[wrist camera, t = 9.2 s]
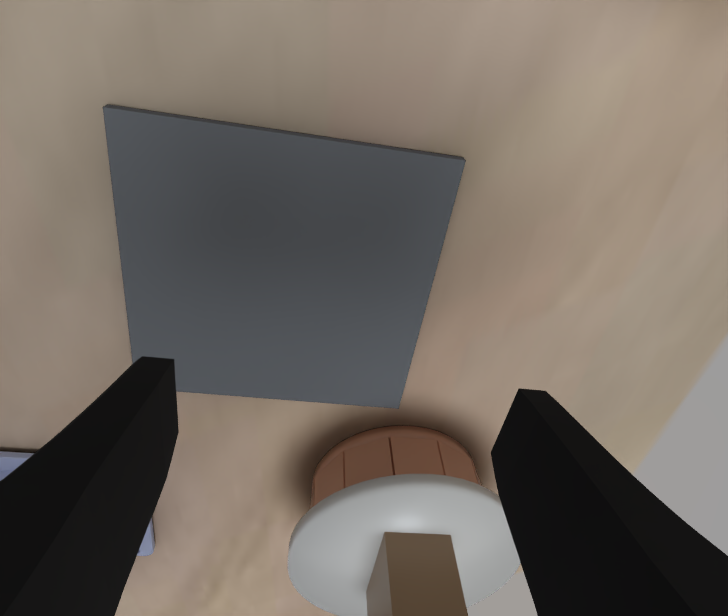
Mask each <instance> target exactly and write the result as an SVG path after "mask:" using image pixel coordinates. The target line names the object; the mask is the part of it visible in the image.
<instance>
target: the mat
mask: <svg viewBox="0 0 728 616" xmlns="http://www.w3.org/2000/svg"><path fill="white" fill-rule="evenodd" d="M103 112H104V121H105V129H106V138H107V147H108V155H109V164H110V172H111V181H112V190H113V198H114V207H115V215H116V224H117V233H118V241H119V250H120V258H121V267H122V276H123V284H124V293H125V301H126V310H127V319H128V327H129V336H130V344H131V353H132V362H133V363H134V362H135V361H136V360H138V359H139V358H140V357H142V356H146V357H157V358H169V359H174V363H175V381H176V391H178V392H191V393H204V394H217V395H230V396H243V397H255V398H268V399H281V400H294V401H307V402H320V403H332V404H345V405H358V406H371V407H384V408H397V409H399V405H400V401H401V398H402V394H403V390H404V387H405V383H406V379H407V375H408V372H409V368H410V364H411V361H412V357H413V353H414V350H415V346H416V342H417V339H418V335H419V331H420V327H421V324H422V320H423V316H424V313H425V309H426V305H427V302H428V298H429V294H430V291H431V287H432V283H433V279H434V276H435V272H436V268H437V265H438V261H439V257H440V254H441V250H442V246H443V243H444V239H445V235H446V231H447V228H448V224H449V220H450V217H451V213H452V209H453V206H454V202H455V198H456V194H457V191H458V187H459V183H460V180H461V176H462V172H463V169H464V165H465V161H466V160H465V159H464V158H463V157H458V156H452V155H445V154H438V153H432V152H425V151H418V150H411V149H405V148H398V147H391V146H384V145H378V144H371V143H364V142H357V141H351V140H344V139H337V138H331V137H324V136H317V135H310V134H304V133H297V132H290V131H283V130H277V129H270V128H263V127H256V126H250V125H243V124H236V123H230V122H223V121H216V120H209V119H203V118H196V117H189V116H182V115H176V114H169V113H162V112H155V111H149V110H142V109H135V108H129V107H122V106H115V105H108V104H107V105H106V106H104V107H103Z"/></svg>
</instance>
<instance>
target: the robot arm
mask: <svg viewBox="0 0 728 616" xmlns="http://www.w3.org/2000/svg"><path fill="white" fill-rule="evenodd" d="M177 435H178V415H177V398H176V381H175V363H174V359H169V358H157V357H146V356H142V357H140V358H139V359H138V360H136V361H135V362H134V363H133V364H132V365H131V366H130V367H129V368H128V369H127V370H126V371H125V372H124V373H123V374H122V375H121V376H120V377H119V378H118V379H117V380H116V381H115V382H114V383H113V384H112V385H111V386H110V387H109V388H108V389H107V390H106V391H104V392H103V393H102V394H101V395H100V396H99V397H98V398H97V399H96V400H95V401H94V402H93V403H92V404H91V405H90V406H88V407H87V408H86V409H85V410H84V411H83V412H82V413H81V414H80V415H78V416H77V417H76V418H75V419H74V420H73V421H72V422H71V423H70V424H68V425H67V426H66V427H65V428H64V429H63V430H62V431H61V432H60V433H58V434H57V435H56V436H55V437H54V438H53V439H51V440H50V441H49V442H48V443H47V444H45V445H44V446H43V447H42V448H41V449H39V450H38V451H37V452H36V453H20V452H3V451H0V616H114V615H115V612H116V610H117V607H118V604H119V601H120V598H121V595H122V592H123V590H124V587H125V584H126V582H127V579H128V577H129V574H130V572H131V569H132V566H133V564H134V561H135V559H136V556H148V555H151V554H152V553H153V551H154V548H155V542H154V533H153V524H152V515H153V512H154V510H155V507H156V505H157V502H158V499H159V497H160V494H161V492H162V489H163V486H164V484H165V481H166V478H167V474H168V470H169V467H170V463H171V459H172V455H173V451H174V447H175V443H176V439H177ZM491 456H492V462H493V468H494V473H495V479H496V484H497V488H498V493H499V498H500V501H501V504H502V507H503V511H504V514H505V517H506V520H507V523H508V526H509V529H510V532H511V535H512V538H513V541H514V544H515V547H516V550H517V553H518V556H519V559H520V562H521V565H522V568H523V571H524V574H525V577H526V580H527V583H528V586H529V589H530V592H531V595H532V598H533V601H534V604H535V608H536V611H537V615H538V616H728V556H727V555H726V554H725V553H723V552H722V551H721V550H720V549H718V548H717V547H716V546H714V545H713V544H712V543H711V542H709V541H708V540H707V539H706V538H704V537H703V536H702V535H700V534H699V533H698V532H697V531H695V530H694V529H693V528H692V527H691V526H690V525H688V524H687V523H686V522H685V521H683V520H682V519H681V518H680V517H679V516H678V515H676V514H675V513H674V512H673V511H672V510H671V509H670V508H668V507H667V506H666V505H665V504H664V503H663V502H662V501H661V500H659V499H658V498H657V497H656V496H655V495H654V494H653V493H651V492H650V491H649V490H648V489H647V488H646V487H645V486H644V485H643V484H642V483H641V482H639V481H638V480H637V479H636V478H635V477H634V476H633V475H632V474H631V473H630V472H629V471H628V470H627V469H626V468H624V467H623V466H622V465H621V464H620V463H619V462H618V461H617V460H616V459H615V458H614V457H613V456H612V455H611V454H610V453H609V452H608V451H607V450H606V449H605V448H604V447H603V446H602V445H601V444H600V443H599V442H598V441H597V440H596V439H595V438H594V437H593V436H592V435H591V434H590V433H589V432H588V431H587V430H586V429H585V428H584V427H583V426H581V425H580V424H579V423H578V422H577V421H576V420H575V419H574V418H573V417H572V416H571V415H570V414H569V413H568V412H567V411H566V410H565V409H564V408H563V407H562V406H561V405H560V404H559V403H558V402H557V401H556V400H555V399H554V398H553V397H552V396H550V395H549V394H548V393H547V392H546V391H541V390H529V389H518V392H517V394H516V396H515V398H514V401H513V403H512V405H511V408H510V410H509V412H508V415H507V417H506V419H505V421H504V424H503V426H502V428H501V431H500V433H499V435H498V437H497V440H496V442H495V444H494V447H493V449H492V451H491Z"/></svg>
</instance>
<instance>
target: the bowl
mask: <svg viewBox="0 0 728 616" xmlns="http://www.w3.org/2000/svg"><path fill="white" fill-rule="evenodd" d="M401 474H436V475H446V476H451V477H456V478H461V479H464V480H467V481H471V482H474V483H476V484H479V485H481V482H480V480H479V477H478V475H477V472H476V469H475V465H474V462H473V459H472V458H471V456H470V454H469V452H468V451H467V450H466V449H465V448H464V447H463V446H462V445H461V444H460V443H459V442H458V441H456V440H455V439H453V438H452V437H450V436H448V435H446V434H443V433H441V432H438V431H435V430H432V429H428V428H423V427H416V426H388V427H381V428H376V429H372V430H368V431H364V432H362V433H359V434H356V435H354V436H352V437H349V438H347V439H345V440H344V441H342V442H340V443H339V444H337V445H336V446H335V447H333V448H332V449H331V450H330V451H328V452H327V453H326V455H325V456H324V457H323V458H322V459H321V461H320V462H319V463H318V465H317V467H316V469H315V471H314V475H313V480H312V495H311V501H310V509H311V508H312V507H313V506H315V505H316V504H317V503H319V502H320V501H321V500H323V499H325V498H326V497H328V496H330V495H331V494H333V493H335V492H337V491H340V490H342V489H344V488H346V487H349V486H351V485H354V484H357V483H360V482H363V481H367V480H371V479H375V478H379V477H386V476H392V475H401ZM481 486H482V485H481Z"/></svg>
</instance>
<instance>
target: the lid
mask: <svg viewBox="0 0 728 616" xmlns="http://www.w3.org/2000/svg"><path fill="white" fill-rule="evenodd" d="M520 563H521V562H520V559H519V556H518V553H517V550H516V547H515V544H514V541H513V538H512V535H511V532H510V529H509V526H508V523H507V520H506V517H505V514H504V511H503V507H502V504H501V501H500V498H499V496H498V495H497V494H495V493H494V492H492V491H491V490H489V489H487V488H485V487H483V486H481V485H479V484H476V483H474V482H471V481H467V480H464V479H461V478H456V477H451V476H446V475H436V474H401V475H392V476H386V477H379V478H375V479H371V480H367V481H363V482H360V483H357V484H354V485H351V486H349V487H346V488H344V489H342V490H340V491H337V492H335V493H333V494H331V495H330V496H328V497H326V498H325V499H323V500H321V501H320V502H319V503H317V504H316V505H315V506H313V507H312V508H311V509H310V510H309V511H308V512H307V513H306V514H305V515H304V516H303V517H302V518H301V519H300V521H299V522H298V523H297V525H296V526H295V528H294V530H293V533H292V535H291V538H290V542H289V552H288V573H289V577H290V580H291V582H292V584H293V586H294V587H295V588H296V590H297V591H298V592H299V593H300V594H301V595H302V596H303V597H304V598H305V599H306V600H308V601H309V602H311V603H312V604H313V605H315V606H317V607H319V608H321V609H323V610H325V611H327V612H330V613H332V614H335V615H338V616H468V613H467V609H466V608H467V607H469V606H472V605H474V604H476V603H478V602H480V601H481V600H483V599H485V598H487V597H489V596H490V595H492V594H493V593H495V592H496V591H497V590H499V589H500V588H501V587H502V586H503V585H505V584H506V582H507V581H508V580H509V579H510V578H511V577H512V576H513V575H514V573H515V572H516V570H517V569H518V567H519V565H520Z"/></svg>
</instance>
